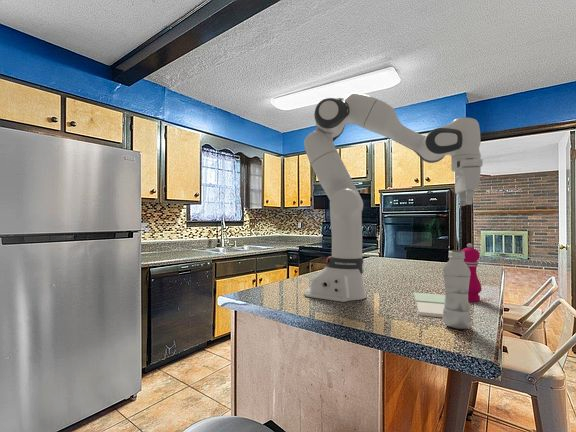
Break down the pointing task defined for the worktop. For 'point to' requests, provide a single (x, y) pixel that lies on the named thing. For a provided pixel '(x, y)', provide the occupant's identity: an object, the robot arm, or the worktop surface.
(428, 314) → the mat
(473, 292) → the pepper mill
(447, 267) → the plastic bottle
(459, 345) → the worktop surface
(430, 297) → the mat
